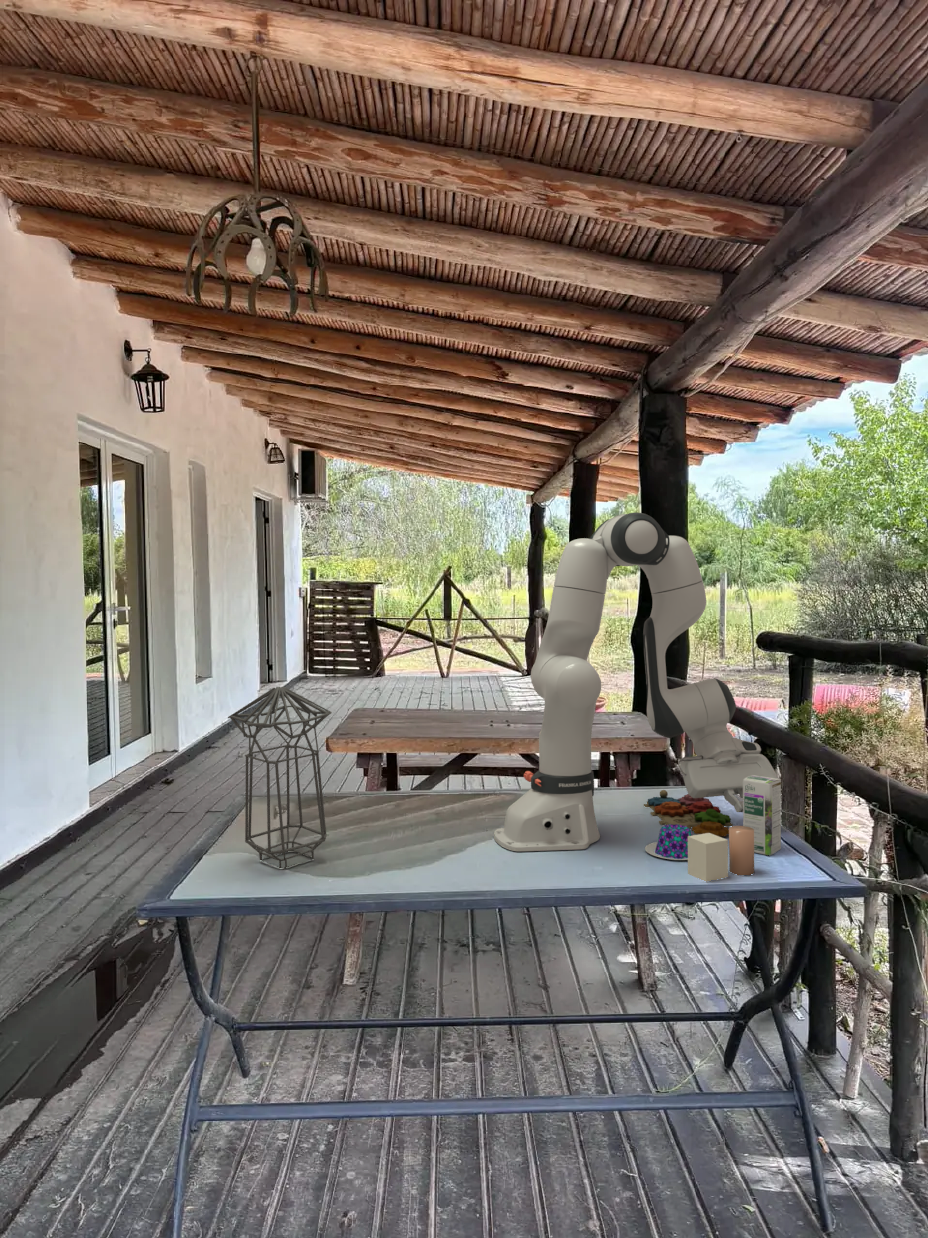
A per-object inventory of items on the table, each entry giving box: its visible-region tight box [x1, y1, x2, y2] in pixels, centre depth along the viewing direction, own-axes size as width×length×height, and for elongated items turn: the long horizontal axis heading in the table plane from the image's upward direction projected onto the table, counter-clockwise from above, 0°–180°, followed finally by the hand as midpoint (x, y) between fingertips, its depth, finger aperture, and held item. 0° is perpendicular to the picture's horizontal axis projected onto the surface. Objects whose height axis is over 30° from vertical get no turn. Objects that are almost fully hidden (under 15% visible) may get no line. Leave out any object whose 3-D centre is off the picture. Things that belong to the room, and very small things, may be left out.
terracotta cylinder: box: [728, 825, 755, 876], centre depth 153 cm, size 4×4×8 cm
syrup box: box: [742, 775, 782, 857], centre depth 165 cm, size 6×6×14 cm
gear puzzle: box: [643, 789, 734, 837], centre depth 188 cm, size 31×16×4 cm, turn 1°
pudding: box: [644, 824, 693, 861], centre depth 165 cm, size 12×12×5 cm
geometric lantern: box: [227, 686, 332, 868], centre depth 163 cm, size 16×16×35 cm
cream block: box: [687, 833, 729, 883], centre depth 151 cm, size 5×5×7 cm
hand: (744, 810), depth 171 cm, fingers closed
